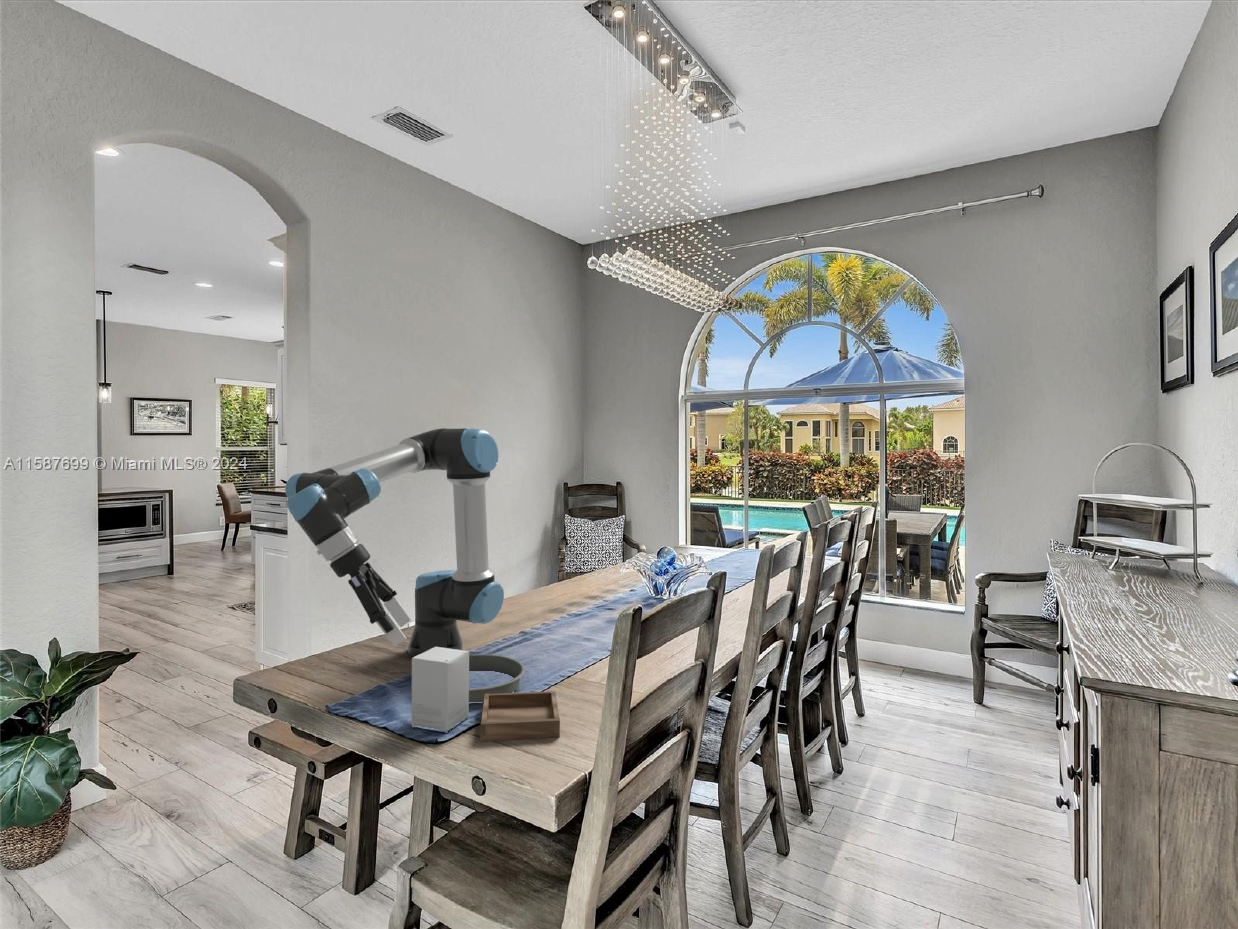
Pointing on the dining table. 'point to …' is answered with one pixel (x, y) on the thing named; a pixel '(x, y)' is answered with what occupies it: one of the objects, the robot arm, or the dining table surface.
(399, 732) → the dining table surface
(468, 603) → the robot arm
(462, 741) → the dining table surface
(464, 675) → the supplement box
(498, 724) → the walnut tray
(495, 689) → the cake pan
